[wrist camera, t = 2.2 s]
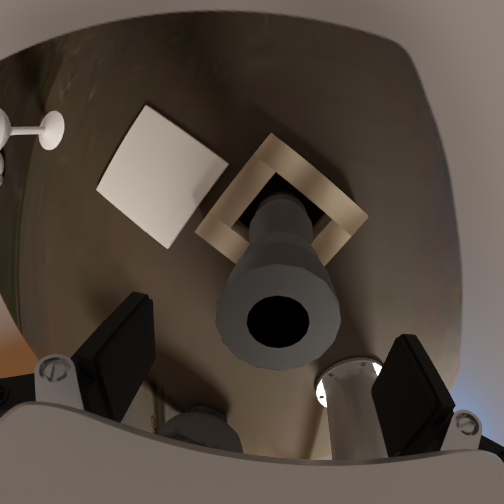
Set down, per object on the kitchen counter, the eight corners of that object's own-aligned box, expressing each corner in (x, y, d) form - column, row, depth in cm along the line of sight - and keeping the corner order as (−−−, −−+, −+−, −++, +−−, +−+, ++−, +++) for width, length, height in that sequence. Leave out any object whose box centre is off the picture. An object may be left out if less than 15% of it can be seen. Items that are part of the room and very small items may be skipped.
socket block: (357, 208, 35) (368, 216, 30) (287, 286, 39) (288, 304, 34) (272, 136, 33) (271, 132, 28) (205, 222, 37) (194, 232, 33)
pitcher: (227, 441, 52) (201, 560, 24) (149, 401, 50) (91, 518, 22) (256, 421, 49) (236, 560, 21) (169, 375, 47) (102, 515, 19)
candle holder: (266, 183, 35) (232, 236, 12) (313, 200, 35) (370, 286, 12) (250, 228, 37) (196, 350, 14) (295, 245, 37) (311, 386, 14)
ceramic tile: (229, 164, 35) (228, 164, 34) (170, 246, 39) (167, 249, 38) (149, 106, 33) (145, 105, 32) (99, 188, 37) (96, 189, 36)
